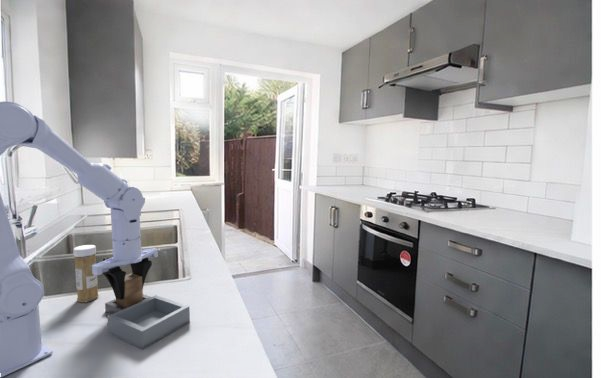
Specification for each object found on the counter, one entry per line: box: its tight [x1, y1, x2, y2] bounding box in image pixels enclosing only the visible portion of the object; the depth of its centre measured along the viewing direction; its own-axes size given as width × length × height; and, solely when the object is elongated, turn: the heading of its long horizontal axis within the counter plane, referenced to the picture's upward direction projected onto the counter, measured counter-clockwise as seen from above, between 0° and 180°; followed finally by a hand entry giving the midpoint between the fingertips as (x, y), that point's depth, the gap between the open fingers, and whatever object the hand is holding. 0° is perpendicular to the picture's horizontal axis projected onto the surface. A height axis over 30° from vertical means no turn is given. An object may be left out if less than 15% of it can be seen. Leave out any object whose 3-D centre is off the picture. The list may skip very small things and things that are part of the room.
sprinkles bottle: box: [72, 244, 100, 303], centre depth 76 cm, size 5×5×13 cm
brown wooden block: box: [115, 273, 144, 308], centre depth 72 cm, size 4×4×7 cm
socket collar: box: [104, 293, 152, 315], centre depth 72 cm, size 7×7×2 cm
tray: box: [107, 294, 191, 350], centre depth 64 cm, size 11×11×4 cm
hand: (129, 294), depth 72 cm, fingers closed on brown wooden block, 4 cm apart
